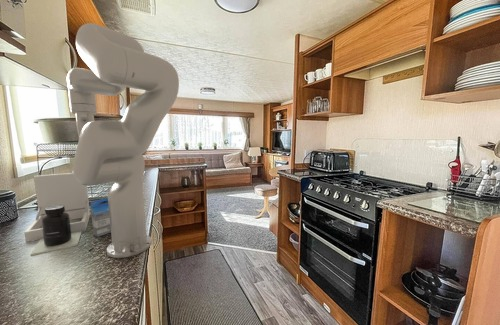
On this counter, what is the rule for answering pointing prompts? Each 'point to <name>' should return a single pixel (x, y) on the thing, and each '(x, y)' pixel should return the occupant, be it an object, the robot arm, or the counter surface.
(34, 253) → the mat
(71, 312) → the counter surface
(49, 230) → the supplement bottle
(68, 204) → the white open box
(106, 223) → the label tape box
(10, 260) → the counter surface
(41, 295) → the counter surface
